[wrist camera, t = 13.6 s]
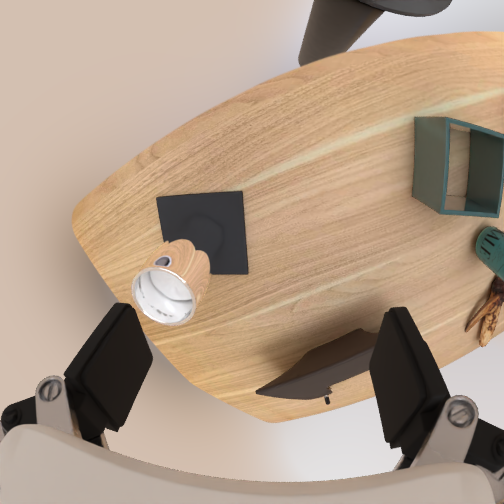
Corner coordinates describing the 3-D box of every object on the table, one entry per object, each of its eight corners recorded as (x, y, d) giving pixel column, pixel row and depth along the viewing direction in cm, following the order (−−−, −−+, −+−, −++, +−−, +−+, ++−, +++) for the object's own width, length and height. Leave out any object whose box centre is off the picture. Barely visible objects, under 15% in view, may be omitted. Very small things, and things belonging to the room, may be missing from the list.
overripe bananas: (476, 277, 37) (458, 347, 44) (488, 290, 33) (466, 361, 39) (507, 268, 35) (487, 336, 42) (519, 279, 31) (496, 349, 37)
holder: (414, 116, 28) (445, 116, 21) (472, 129, 26) (506, 135, 19) (411, 196, 32) (439, 214, 25) (468, 200, 31) (498, 218, 24)
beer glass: (169, 230, 37) (116, 286, 24) (205, 202, 35) (162, 251, 22) (199, 267, 40) (163, 336, 26) (237, 243, 37) (213, 310, 24)
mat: (157, 196, 36) (155, 198, 36) (242, 190, 35) (241, 191, 34) (171, 272, 41) (170, 274, 41) (248, 272, 40) (248, 274, 39)
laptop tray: (303, 372, 57) (313, 409, 50) (247, 351, 41) (257, 406, 35) (398, 330, 49) (414, 367, 43) (386, 287, 34) (413, 345, 28)
